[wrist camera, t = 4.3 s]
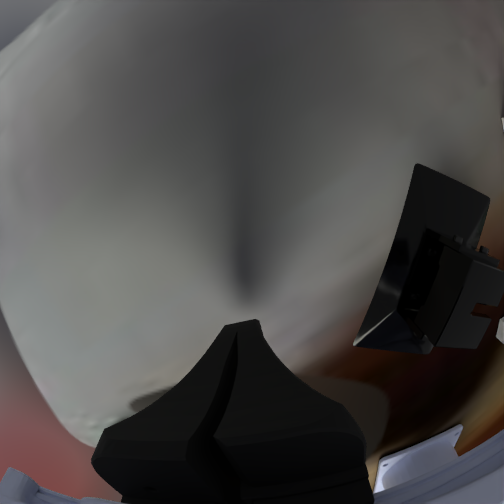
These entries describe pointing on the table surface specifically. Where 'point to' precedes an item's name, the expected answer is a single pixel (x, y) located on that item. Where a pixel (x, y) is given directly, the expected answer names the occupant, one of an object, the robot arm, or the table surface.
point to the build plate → (434, 272)
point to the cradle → (503, 327)
